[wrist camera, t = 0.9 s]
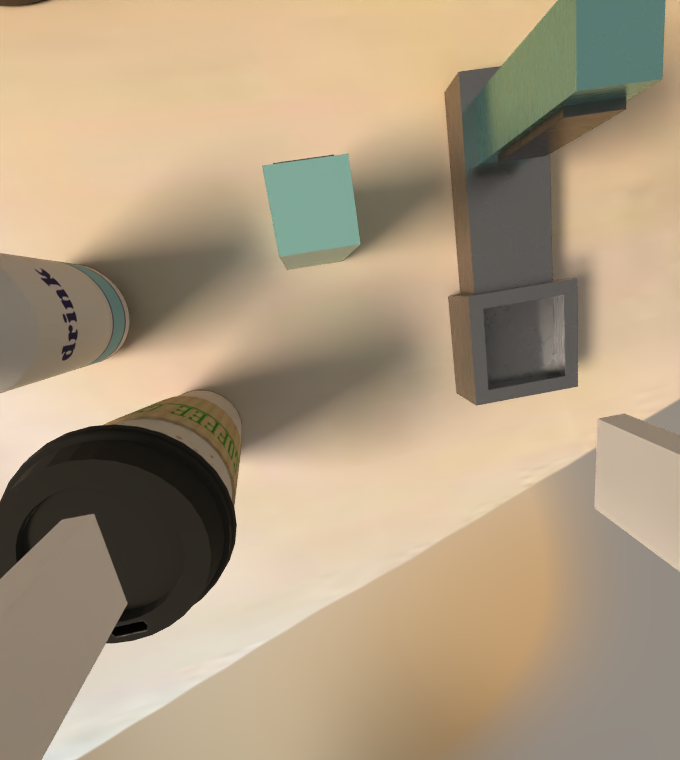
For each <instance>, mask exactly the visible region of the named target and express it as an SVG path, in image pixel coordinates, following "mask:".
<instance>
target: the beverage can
mask: <svg viewBox="0 0 680 760" xmlns="http://www.w3.org/2000/svg"><path fill="white" fill-rule="evenodd" d="M129 323H130V319H129V311H128V307H127V304H126V302H125V299H124V297H123V296H122V294H121V292H120V291H119V289H118V288H117V287H116V286H115V285H114V283H113V282H111V281H110V280H109V279H108V278H107V277H106V276H104V275H103V274H101V273H100V272H98V271H96V270H94V269H92V268H89V267H86V266H82V265H77V264H71V263H64V262H57V261H50V260H43V259H36V258H30V257H23V256H16V255H9V254H2V253H0V393H3V392H6V391H9V390H12V389H15V388H18V387H22V386H25V385H28V384H31V383H34V382H37V381H40V380H44V379H47V378H50V377H53V376H56V375H59V374H63V373H66V372H69V371H72V370H75V369H78V368H82V367H85V366H88V365H91V364H94V363H97V362H100V361H103V360H105V359H107V358H109V357H111V356H112V355H113V354H115V353H116V352H117V351H118V350H119V349H120V348H121V346H122V345H123V343H124V342H125V340H126V337H127V334H128V331H129Z"/></svg>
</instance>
